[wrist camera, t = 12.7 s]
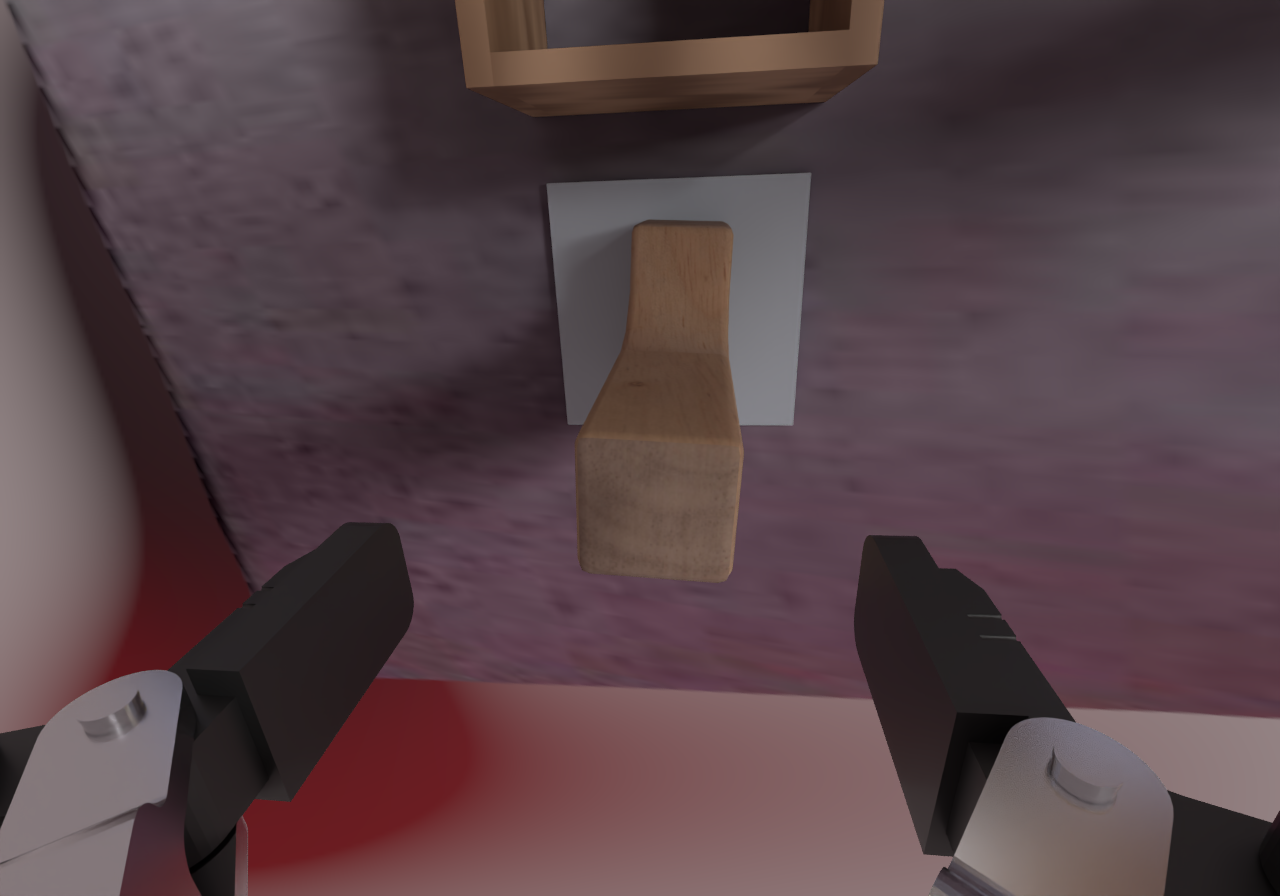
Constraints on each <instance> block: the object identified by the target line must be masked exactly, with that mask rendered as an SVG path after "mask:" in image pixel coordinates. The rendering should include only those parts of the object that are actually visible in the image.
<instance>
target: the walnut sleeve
mask: <svg viewBox="0 0 1280 896" xmlns="http://www.w3.org/2000/svg"><path fill="white" fill-rule="evenodd" d="M455 5H456V13H457V20H458V28H459V36H460V43H461V51H462V59H463V66H464V74H465V82H466V88H468V89H470V90H472V91H474V92H477V93H479V94H481V95H484V96H486V97H488V98H491V99H493V100H495V101H497V102H500V103H502V104H504V105H507V106H509V107H511V108H513V109H516V110H518V111H520V112H523V113H525V114H527V115H529V116H532V117H544V116H563V115H582V114H602V113H621V112H640V111H659V110H679V109H698V108H717V107H736V106H756V105H775V104H794V103H813V102H826V101H827V100H829V99H830V98H832V97H833V96H834V95H836V94H837V93H838V92H840V91H841V90H843V89H844V88H845V87H847V86H848V85H850V84H851V83H852V82H854V81H855V80H856V79H858V78H859V77H861V76H862V75H863V74H865V73H866V72H867V71H869V70H870V69H872V68H873V67H874V66H876V65H877V64H878V56H879V46H880V37H881V27H882V18H883V8H884V0H810V13H809V29H808V32H805V33H790V34H774V35H758V36H743V37H727V38H711V39H696V40H680V41H665V42H649V43H633V44H618V45H602V46H586V47H571V48H555V49H547V37H546V24H545V12H544V0H455Z"/></svg>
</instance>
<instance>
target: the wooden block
mask: <svg viewBox="0 0 1280 896" xmlns="http://www.w3.org/2000/svg"><path fill="white" fill-rule="evenodd" d="M733 237H734V235H733V232H732V229H731V227H730V226H729V225H728V224H727V223H725V222H723V221H690V220H651V219H648V220H646V221H643V222H641V223H639V224H637V225H635V226H634V228H633V231H632V241H631V272H630V295H629V305H628V314H627V323H626V332H625V336H624V340H623V344H622V348H621V352H620V353H619V355H618V357H617V359H616V361H615V363H614V365H613V367H612V369H611V371H610V373H609V375H608V377H607V379H606V381H605V383H604V385H603V387H602V389H601V391H600V393H599V395H598V397H597V399H596V400H595V402H594V404H593V406H592V408H591V410H590V412H589V414H588V416H587V418H586V420H585V422H584V424H583V426H582V428H581V430H580V432H579V434H578V436H577V439H576V441H575V471H576V509H577V548H578V560H579V563H580V566H581V568H582V570H583V571H586V572H588V573H593V574H606V575H620V576H633V577H647V578H660V579H673V580H687V581H700V582H714V583H719V582H723V581H726V580H727V578H728V576H729V574H730V573H731V571H732V568H733V558H734V548H735V538H736V528H737V518H738V507H739V497H740V487H741V477H742V467H743V457H744V449H743V443H742V437H741V431H740V424H739V418H738V412H737V405H736V399H735V393H734V386H733V380H732V374H731V368H730V361H729V344H728V325H729V295H730V280H731V266H732V251H733Z"/></svg>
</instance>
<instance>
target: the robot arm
mask: <svg viewBox="0 0 1280 896" xmlns="http://www.w3.org/2000/svg"><path fill="white" fill-rule="evenodd" d="M413 607H414V600H413V593H412V588H411V584H410V580H409V575H408V571H407V567H406V562H405V558H404V554H403V549H402V545H401V541H400V536H399V533H398V531H397V529H396V528H395V526H394V525H392V524H390V523H356V522H349V523H345V524H343V525H342V526H341V527H340V528H338V529H337V530H336V531H335V532H334V533H333V534H332V535H331V536H330V537H329V538H328V539H326V540H325V541H324V542H323V543H322V544H321V545H320V546H319V547H318V548H317V549H316V550H313V551H312V552H310V553H308V554H306V555H304V556H303V557H301V558H299V559H297V560H295V561H293V562H292V563H290V564H288V565H286V566H284V567H283V568H282V569H281V570H280V571H279V572H278V573H277V574H275V575H274V576H273V577H272V578H271V579H270V580H269V581H268V582H266V583H265V584H264V585H263V586H262V590H261V591H256V592H255V593H254V594H253V595H252V596H251V597H250V598H249V599H247V600H246V601H245V602H244V603H243V607H242V608H237V609H236V610H235V611H234V612H233V613H232V614H231V615H230V616H228V617H227V618H226V619H225V620H224V621H223V622H222V623H220V624H219V625H218V626H217V627H216V628H215V629H214V630H213V631H211V632H210V633H209V634H208V635H207V636H206V637H205V638H204V639H202V640H201V641H200V642H199V643H198V644H197V645H196V646H195V647H193V648H192V649H191V650H190V651H189V652H188V653H187V654H186V655H184V656H183V657H182V658H181V659H180V660H179V661H178V662H177V663H175V664H174V665H173V666H172V667H171V668H170V669H169V670H168V671H165V670H151V671H143V672H138V673H133V674H130V675H127V676H123V677H120V678H118V679H115V680H112V681H110V682H107V683H105V684H103V685H101V686H98V687H97V688H95V689H93V690H91V691H89V692H87V693H85V694H84V695H82V696H81V697H79V698H77V699H76V700H74V701H73V702H72V703H70V704H68V705H67V706H66V707H64V708H63V709H62V710H61V711H60V712H59V713H57V714H56V715H55V716H54V717H53V718H52V719H51V720H50V721H49V722H48V723H47V724H46V725H42V726H37V727H33V728H27V729H22V730H17V731H11V732H6V733H1V734H0V896H247V883H248V882H247V880H248V874H247V873H248V872H247V871H248V830H247V825H246V823H245V821H244V819H243V816H242V815H243V814H244V812H245V811H246V810H247V808H248V807H249V806H250V804H251V803H252V801H253V800H254V799H263V800H276V801H290V802H291V800H292V799H293V798H294V796H295V794H296V793H297V792H298V790H299V789H300V787H301V786H302V784H303V783H304V781H305V780H306V778H307V777H308V775H309V774H310V772H311V771H312V770H313V768H314V766H315V765H316V764H317V762H318V761H319V759H320V758H321V756H322V755H323V754H324V752H325V751H326V749H327V748H328V746H329V745H330V743H331V742H332V740H333V739H334V737H335V736H336V734H337V733H338V732H339V730H340V728H341V727H342V726H343V724H344V723H345V721H346V720H347V718H348V717H349V715H350V714H351V712H352V711H353V709H354V708H355V707H356V705H357V704H358V702H359V701H360V699H361V698H362V696H363V695H364V693H365V692H366V690H367V689H368V687H369V686H370V684H371V683H372V682H373V680H374V679H375V677H376V676H377V674H378V673H379V671H380V670H381V668H382V667H383V665H384V664H385V663H386V661H387V660H388V658H389V657H390V655H391V654H392V652H393V651H394V649H395V648H396V646H397V645H398V643H399V642H400V641H401V639H402V638H403V636H404V635H405V633H406V631H407V630H408V628H409V625H410V622H411V619H412V615H413ZM854 632H855V641H856V647H857V651H858V655H859V658H860V661H861V664H862V667H863V670H864V673H865V676H866V679H867V682H868V686H869V689H870V692H871V695H872V698H873V701H874V704H875V707H876V710H877V713H878V716H879V719H880V722H881V725H882V728H883V731H884V734H885V737H886V741H887V744H888V747H889V750H890V753H891V756H892V759H893V762H894V765H895V768H896V771H897V774H898V777H899V780H900V783H901V787H902V790H903V793H904V796H905V799H906V802H907V805H908V808H909V811H910V814H911V817H912V820H913V823H914V826H915V830H916V833H917V835H918V839H919V841H920V845H921V847H922V851H923V854H927V855H940V856H952V857H953V859H952V861H951V864H950V866H949V867H948V869H947V868H945V867H943V868H942V870H941V871H940V873H939V875H938V877H937V878H936V881H935V883H934V885H933V887H932V889H931V891H930V893H929V895H928V896H1280V811H1279V813H1278V814H1277V816H1276V818H1275V820H1274V821H1273V823H1271V822H1267V821H1264V820H1261V819H1257V818H1254V817H1251V816H1248V815H1244V814H1241V813H1237V812H1234V811H1231V810H1228V809H1224V808H1221V807H1218V806H1215V805H1211V804H1208V803H1205V802H1201V801H1198V800H1195V799H1191V798H1188V797H1185V796H1182V795H1179V794H1176V793H1173V792H1171V791H1168V790H1166V788H1165V786H1164V785H1163V783H1162V782H1161V780H1160V779H1159V778H1158V776H1157V775H1156V774H1155V773H1154V772H1153V771H1152V770H1151V769H1150V767H1148V765H1147V764H1146V763H1145V762H1144V761H1142V760H1141V759H1140V758H1139V757H1138V756H1137V755H1135V754H1134V753H1133V752H1132V751H1130V750H1129V749H1127V748H1126V747H1125V746H1123V745H1122V744H1120V743H1118V742H1117V741H1115V740H1114V739H1112V738H1110V737H1109V736H1107V735H1105V734H1103V733H1101V732H1098V731H1096V730H1094V729H1092V728H1089V727H1087V726H1084V725H1082V724H1078V723H1076V722H1075V720H1074V719H1073V717H1072V716H1071V715H1070V713H1069V712H1068V710H1067V709H1066V707H1065V706H1064V704H1063V703H1062V702H1061V700H1060V699H1059V697H1058V696H1057V694H1056V693H1055V691H1054V690H1053V689H1052V687H1051V686H1050V684H1049V683H1048V681H1047V680H1046V678H1045V677H1044V676H1043V674H1042V673H1041V671H1040V670H1039V668H1038V667H1037V665H1036V664H1035V663H1034V661H1033V660H1032V658H1031V657H1030V655H1029V654H1028V653H1027V651H1026V650H1025V648H1024V647H1023V645H1022V644H1021V642H1020V641H1016V635H1015V634H1014V632H1013V631H1012V629H1011V628H1010V627H1009V625H1008V624H1007V622H1006V621H1005V620H1002V619H1001V614H1000V612H999V611H998V609H997V608H996V606H995V605H994V604H993V602H992V601H991V599H990V598H989V596H988V595H987V593H986V592H985V591H984V590H983V589H982V588H981V587H979V586H978V585H977V584H975V583H974V582H973V581H971V580H970V579H969V578H967V577H966V576H964V575H963V574H962V573H960V572H959V571H958V570H956V569H942V568H938V566H937V565H936V563H935V561H934V560H933V558H932V557H931V555H930V553H929V552H928V550H927V548H926V547H925V545H924V544H923V542H922V540H921V539H920V538H919V537H917V536H882V535H869V536H867V538H866V539H865V542H864V546H863V552H862V560H861V568H860V575H859V583H858V590H857V598H856V606H855V614H854Z"/></svg>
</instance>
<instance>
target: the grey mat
mask: <svg viewBox="0 0 1280 896" xmlns="http://www.w3.org/2000/svg"><path fill="white" fill-rule="evenodd" d="M546 184H547V195H548V206H549V218H550V229H551V240H552V252H553V263H554V274H555V285H556V297H557V308H558V319H559V330H560V342H561V353H562V364H563V376H564V387H565V398H566V409H567V421H568V425H583V424H584V422H585V420H586V418H587V416H588V414H589V412H590V410H591V408H592V406H593V404H594V402H595V400H596V399H597V397H598V395H599V393H600V391H601V389H602V387H603V385H604V383H605V381H606V379H607V377H608V375H609V373H610V371H611V369H612V367H613V365H614V363H615V361H616V359H617V357H618V355H619V353H620V352H621V348H622V344H623V340H624V336H625V332H626V323H627V314H628V305H629V295H630V272H631V241H632V231H633V228H634V226H635V225H637V224H639V223H641V222H643V221H646V220H648V219H651V220H690V221H723V222H725V223H727V224H728V225H729V226H730V227H731V229H732V232H733V235H734V237H733V251H732V266H731V280H730V295H729V325H728V344H729V361H730V368H731V374H732V380H733V386H734V393H735V399H736V405H737V412H738V418H739V424H740V425H793V419H794V405H795V391H796V377H797V364H798V350H799V336H800V322H801V308H802V294H803V281H804V267H805V253H806V239H807V225H808V211H809V198H810V184H811V173H792V174H767V175H743V176H718V177H693V178H668V179H643V180H618V181H593V182H568V183H546Z"/></svg>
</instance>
